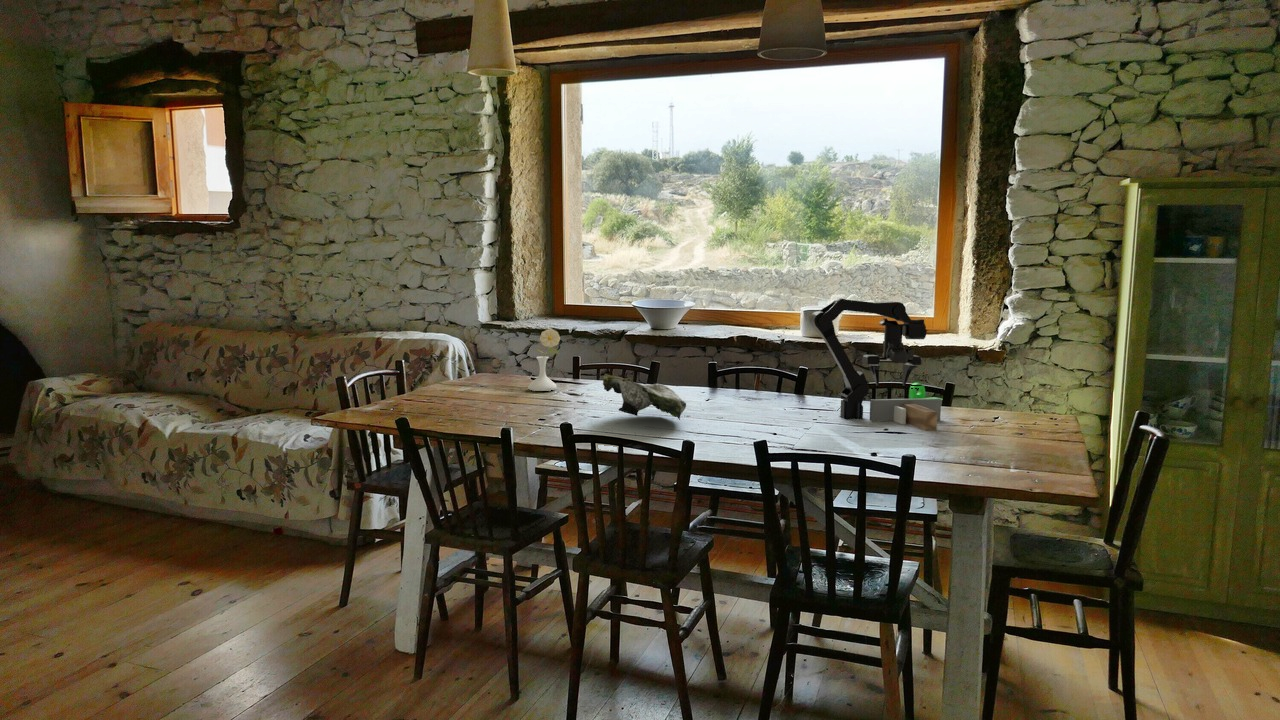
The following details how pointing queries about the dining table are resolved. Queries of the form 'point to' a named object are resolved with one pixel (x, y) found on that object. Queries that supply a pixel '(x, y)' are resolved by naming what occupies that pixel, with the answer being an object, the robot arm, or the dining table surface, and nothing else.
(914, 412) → the rail
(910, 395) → the mechanical part
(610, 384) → the rock
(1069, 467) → the dining table surface
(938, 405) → the slab with two fins
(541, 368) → the flower in vase
